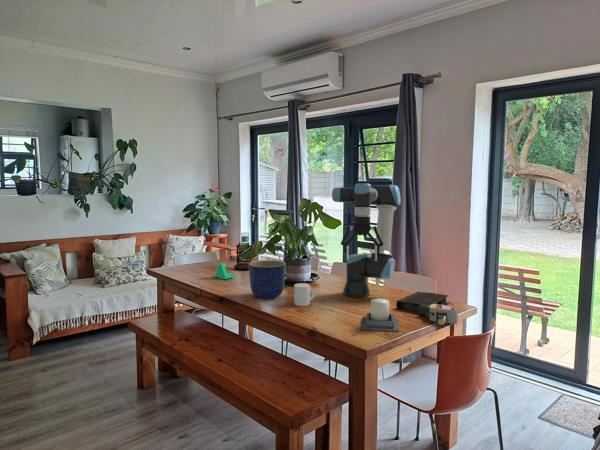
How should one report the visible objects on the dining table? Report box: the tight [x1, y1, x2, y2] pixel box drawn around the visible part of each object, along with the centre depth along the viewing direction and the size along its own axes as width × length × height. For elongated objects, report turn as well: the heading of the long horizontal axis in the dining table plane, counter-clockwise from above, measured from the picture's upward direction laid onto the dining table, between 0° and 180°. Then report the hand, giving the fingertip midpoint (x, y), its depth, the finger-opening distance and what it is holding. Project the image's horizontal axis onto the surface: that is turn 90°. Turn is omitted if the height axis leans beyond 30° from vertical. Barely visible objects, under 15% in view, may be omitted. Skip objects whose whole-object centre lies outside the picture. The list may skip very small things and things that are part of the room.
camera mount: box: [215, 263, 235, 280], centre depth 295 cm, size 12×8×10 cm, turn 42°
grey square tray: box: [360, 312, 400, 333], centre depth 197 cm, size 16×16×4 cm
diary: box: [395, 291, 449, 314], centre depth 226 cm, size 19×25×5 cm
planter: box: [248, 259, 287, 300], centre depth 245 cm, size 21×21×19 cm
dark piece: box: [233, 242, 252, 271], centre depth 325 cm, size 15×15×20 cm
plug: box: [370, 298, 390, 321], centre depth 196 cm, size 8×8×10 cm
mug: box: [293, 282, 316, 307], centre depth 232 cm, size 8×10×12 cm
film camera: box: [417, 304, 459, 326], centre depth 201 cm, size 7×19×15 cm
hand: (361, 260), depth 211 cm, fingers open, 13 cm apart
